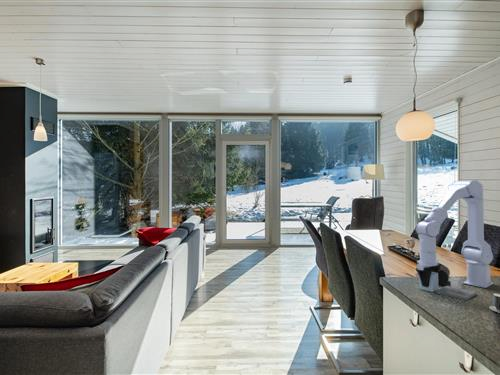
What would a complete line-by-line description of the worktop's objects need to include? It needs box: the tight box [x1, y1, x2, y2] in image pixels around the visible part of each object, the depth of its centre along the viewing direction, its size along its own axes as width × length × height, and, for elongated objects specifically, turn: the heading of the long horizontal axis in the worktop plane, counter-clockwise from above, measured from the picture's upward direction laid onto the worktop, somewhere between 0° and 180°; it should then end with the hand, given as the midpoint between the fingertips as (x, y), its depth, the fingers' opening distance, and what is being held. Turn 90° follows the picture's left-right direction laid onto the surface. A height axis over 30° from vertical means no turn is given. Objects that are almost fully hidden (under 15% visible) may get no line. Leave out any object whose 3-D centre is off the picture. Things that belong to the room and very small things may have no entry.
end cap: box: [438, 264, 451, 286], centre depth 131 cm, size 10×7×7 cm
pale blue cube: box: [418, 272, 440, 293], centre depth 123 cm, size 5×5×7 cm
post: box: [450, 276, 462, 293], centre depth 117 cm, size 3×3×5 cm
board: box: [435, 285, 477, 301], centre depth 117 cm, size 10×10×1 cm
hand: (428, 285), depth 123 cm, fingers closed on pale blue cube, 5 cm apart
